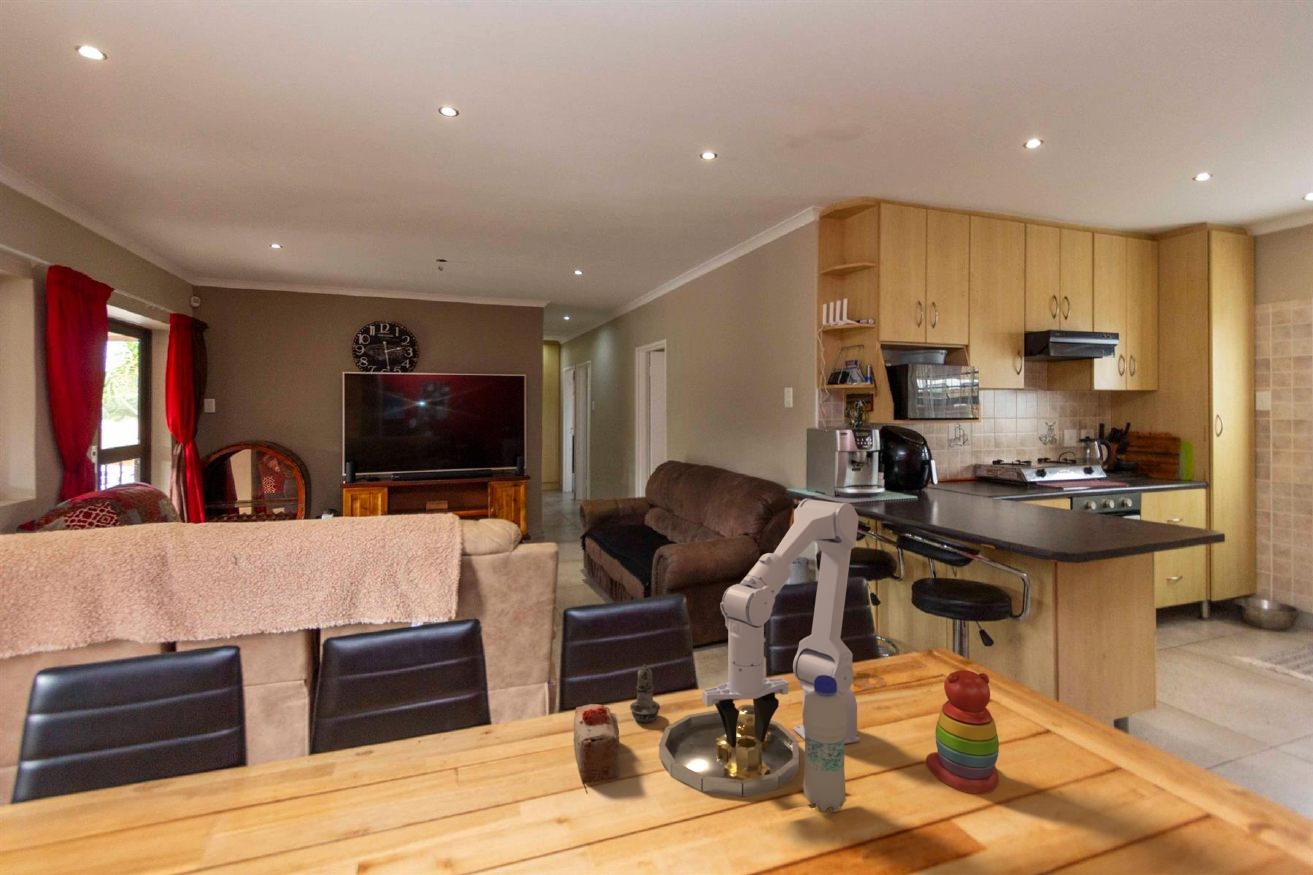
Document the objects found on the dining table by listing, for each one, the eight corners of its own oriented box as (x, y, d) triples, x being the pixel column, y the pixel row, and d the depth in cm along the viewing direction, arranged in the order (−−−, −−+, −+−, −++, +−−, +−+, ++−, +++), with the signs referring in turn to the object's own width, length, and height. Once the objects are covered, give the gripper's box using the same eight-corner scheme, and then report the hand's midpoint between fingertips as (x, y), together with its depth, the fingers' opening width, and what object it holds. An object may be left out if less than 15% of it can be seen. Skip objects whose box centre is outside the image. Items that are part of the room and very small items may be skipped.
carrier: (758, 718, 126) (758, 685, 125) (828, 786, 103) (828, 745, 103) (642, 738, 118) (642, 703, 118) (689, 816, 95) (689, 772, 95)
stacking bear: (988, 762, 110) (990, 661, 109) (1012, 798, 100) (1014, 686, 99) (922, 758, 111) (924, 657, 111) (939, 792, 101) (941, 682, 101)
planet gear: (774, 769, 106) (774, 737, 105) (760, 792, 99) (761, 758, 99) (733, 758, 109) (733, 728, 109) (718, 780, 103) (718, 747, 102)
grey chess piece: (661, 717, 126) (661, 658, 126) (658, 732, 120) (658, 670, 120) (632, 716, 127) (631, 657, 126) (627, 731, 121) (627, 669, 120)
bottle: (847, 795, 101) (848, 670, 100) (845, 821, 94) (846, 688, 93) (804, 787, 103) (804, 665, 102) (799, 812, 96) (800, 682, 96)
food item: (570, 748, 115) (569, 695, 115) (614, 743, 117) (613, 690, 116) (578, 792, 102) (578, 732, 101) (628, 785, 104) (627, 726, 103)
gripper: (773, 645, 110) (773, 723, 110) (695, 656, 105) (695, 736, 106) (794, 660, 103) (794, 743, 104) (712, 672, 98) (712, 758, 99)
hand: (745, 741), depth 104 cm, fingers open, 4 cm apart
